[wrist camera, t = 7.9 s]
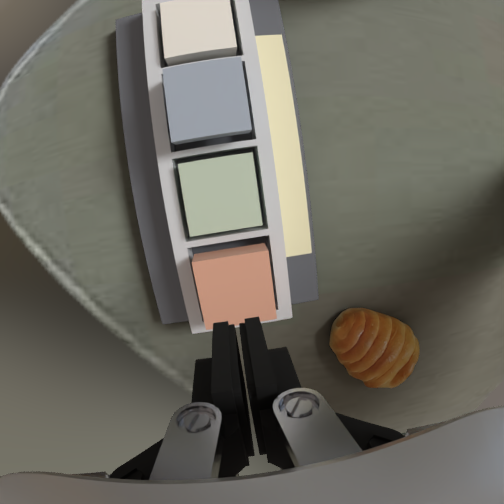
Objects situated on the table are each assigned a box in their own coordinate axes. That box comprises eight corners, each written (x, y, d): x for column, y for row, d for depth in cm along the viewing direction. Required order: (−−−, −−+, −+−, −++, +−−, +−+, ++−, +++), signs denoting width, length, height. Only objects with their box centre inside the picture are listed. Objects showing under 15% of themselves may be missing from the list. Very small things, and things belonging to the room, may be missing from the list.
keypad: (273, 3, 19) (281, -19, 15) (313, 292, 25) (327, 310, 22) (121, 27, 18) (107, 8, 15) (165, 315, 25) (157, 337, 21)
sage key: (249, 153, 20) (252, 152, 18) (259, 220, 21) (262, 225, 19) (181, 164, 19) (177, 164, 18) (192, 230, 21) (190, 236, 19)
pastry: (307, 345, 27) (319, 369, 23) (356, 284, 26) (375, 302, 22) (373, 381, 29) (388, 404, 25) (416, 331, 28) (436, 349, 24)
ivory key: (227, 4, 17) (228, -8, 15) (235, 56, 18) (237, 46, 16) (164, 14, 16) (159, 3, 15) (169, 66, 18) (164, 58, 16)
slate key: (239, 66, 17) (241, 56, 15) (249, 133, 18) (252, 129, 16) (167, 77, 17) (162, 69, 15) (175, 144, 18) (171, 142, 16)
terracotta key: (264, 242, 20) (268, 250, 18) (272, 306, 21) (276, 318, 19) (194, 253, 20) (191, 262, 18) (207, 317, 21) (206, 330, 19)
